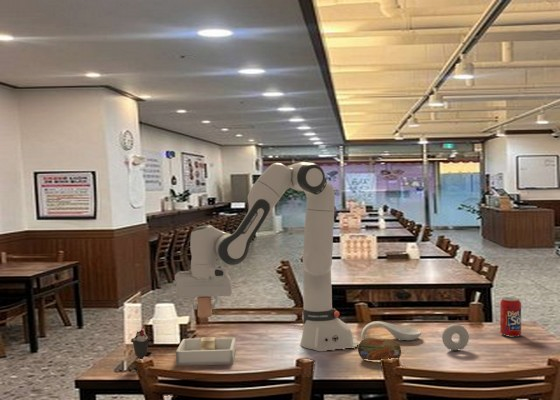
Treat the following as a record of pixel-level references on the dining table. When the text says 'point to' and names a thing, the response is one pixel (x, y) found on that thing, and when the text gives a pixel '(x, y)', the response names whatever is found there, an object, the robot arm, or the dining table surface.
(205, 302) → the reddish brown block
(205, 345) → the birch cube
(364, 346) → the tin
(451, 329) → the donut
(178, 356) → the bus tub
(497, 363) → the dining table surface
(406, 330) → the spoon rest
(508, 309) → the soda can
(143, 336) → the sundae
